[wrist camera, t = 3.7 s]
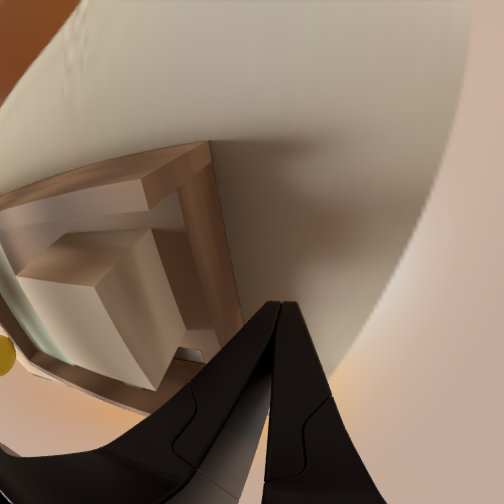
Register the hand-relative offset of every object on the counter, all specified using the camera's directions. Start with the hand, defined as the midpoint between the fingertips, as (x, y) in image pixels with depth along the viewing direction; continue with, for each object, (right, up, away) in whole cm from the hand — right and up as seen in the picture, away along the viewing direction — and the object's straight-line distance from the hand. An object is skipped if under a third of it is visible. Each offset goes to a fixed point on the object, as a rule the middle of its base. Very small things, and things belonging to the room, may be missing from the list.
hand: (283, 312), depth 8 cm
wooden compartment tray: (-11, 0, +8) cm, 14 cm away
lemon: (-38, -12, +22) cm, 45 cm away
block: (-6, +1, +2) cm, 6 cm away
